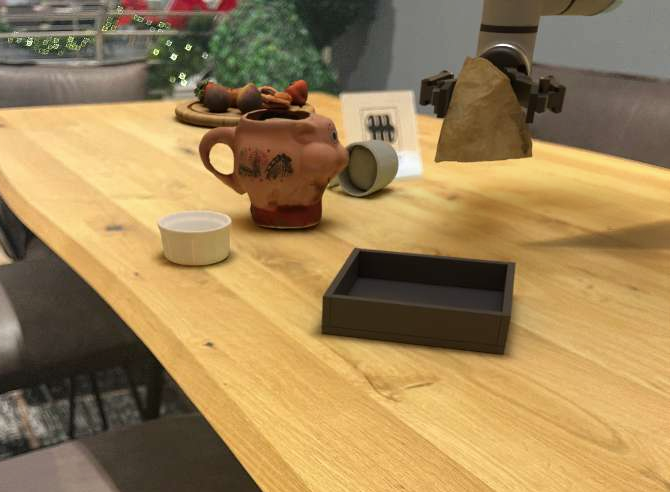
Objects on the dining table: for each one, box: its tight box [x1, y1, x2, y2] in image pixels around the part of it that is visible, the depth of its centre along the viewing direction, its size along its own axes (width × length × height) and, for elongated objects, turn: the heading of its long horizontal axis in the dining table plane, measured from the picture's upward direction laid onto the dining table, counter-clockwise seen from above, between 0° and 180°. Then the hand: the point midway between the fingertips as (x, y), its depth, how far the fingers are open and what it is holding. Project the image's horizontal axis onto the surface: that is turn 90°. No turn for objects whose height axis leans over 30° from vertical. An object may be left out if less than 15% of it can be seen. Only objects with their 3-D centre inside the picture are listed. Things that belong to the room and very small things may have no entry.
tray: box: [321, 247, 516, 355], centre depth 78 cm, size 18×16×4 cm
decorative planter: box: [198, 109, 349, 229], centre depth 102 cm, size 20×12×14 cm, turn 91°
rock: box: [434, 56, 533, 164], centre depth 83 cm, size 11×9×10 cm
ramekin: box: [157, 210, 232, 267], centre depth 93 cm, size 9×9×4 cm
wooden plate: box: [174, 78, 316, 128], centre depth 173 cm, size 32×32×8 cm
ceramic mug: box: [328, 139, 400, 198], centre depth 119 cm, size 11×8×8 cm
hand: (486, 106), depth 78 cm, fingers closed on rock, 8 cm apart
